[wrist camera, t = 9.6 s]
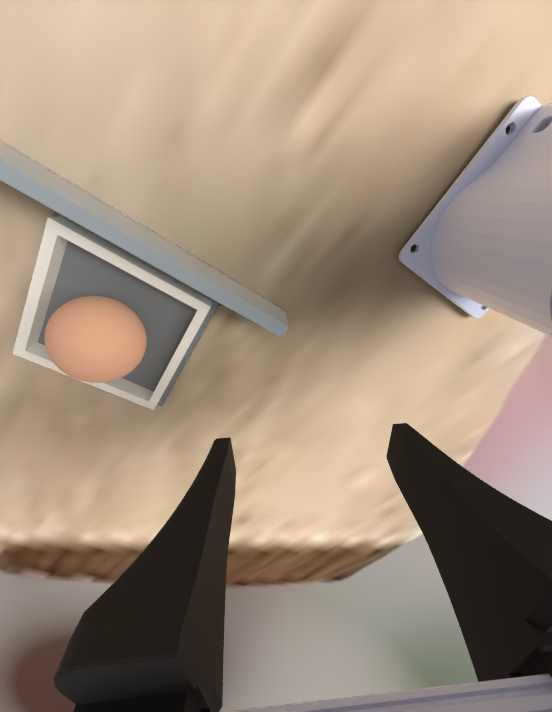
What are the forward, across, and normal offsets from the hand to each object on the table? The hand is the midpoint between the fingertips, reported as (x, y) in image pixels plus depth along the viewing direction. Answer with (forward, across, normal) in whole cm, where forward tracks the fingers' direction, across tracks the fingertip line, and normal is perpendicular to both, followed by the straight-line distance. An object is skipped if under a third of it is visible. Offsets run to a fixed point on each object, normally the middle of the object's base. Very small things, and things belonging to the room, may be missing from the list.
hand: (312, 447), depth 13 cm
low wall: (+9, +8, -8) cm, 15 cm away
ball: (+7, +11, -3) cm, 13 cm away
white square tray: (+9, +11, -3) cm, 15 cm away
